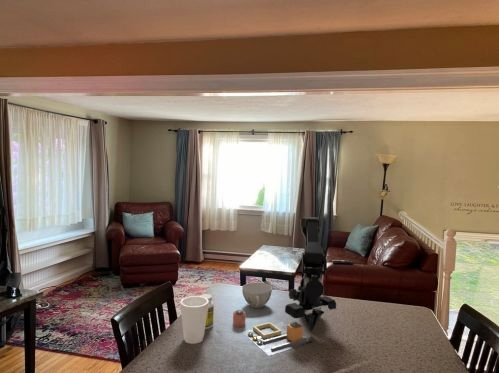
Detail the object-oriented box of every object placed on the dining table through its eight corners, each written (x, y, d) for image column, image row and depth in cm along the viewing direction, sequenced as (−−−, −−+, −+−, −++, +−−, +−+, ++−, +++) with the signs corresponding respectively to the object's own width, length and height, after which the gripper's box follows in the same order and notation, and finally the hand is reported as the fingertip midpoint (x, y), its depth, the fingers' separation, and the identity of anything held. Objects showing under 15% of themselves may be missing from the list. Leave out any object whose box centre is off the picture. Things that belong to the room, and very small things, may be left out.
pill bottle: (210, 330, 124) (210, 300, 123) (193, 328, 125) (194, 298, 125) (215, 323, 130) (216, 294, 130) (199, 321, 132) (200, 292, 131)
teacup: (241, 299, 154) (242, 281, 153) (270, 300, 154) (271, 282, 153) (241, 314, 139) (241, 294, 138) (272, 315, 139) (273, 295, 138)
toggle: (295, 335, 121) (296, 320, 121) (302, 339, 118) (303, 324, 118) (286, 337, 119) (287, 323, 119) (292, 342, 116) (293, 327, 116)
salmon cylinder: (241, 322, 131) (241, 308, 131) (247, 327, 128) (247, 312, 127) (230, 325, 129) (231, 310, 129) (236, 330, 125) (237, 315, 125)
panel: (283, 323, 132) (283, 319, 132) (313, 344, 117) (313, 339, 117) (241, 334, 123) (241, 329, 123) (268, 358, 108) (268, 353, 108)
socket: (269, 325, 128) (269, 322, 128) (281, 333, 122) (281, 330, 122) (253, 329, 124) (253, 326, 124) (264, 338, 118) (264, 335, 118)
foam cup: (212, 335, 121) (213, 298, 120) (200, 348, 112) (201, 309, 112) (188, 330, 124) (188, 294, 123) (174, 342, 116) (174, 304, 115)
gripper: (316, 275, 133) (315, 316, 134) (276, 283, 123) (274, 326, 124) (338, 285, 123) (336, 328, 124) (296, 294, 114) (294, 340, 115)
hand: (310, 330), depth 122 cm, fingers closed
